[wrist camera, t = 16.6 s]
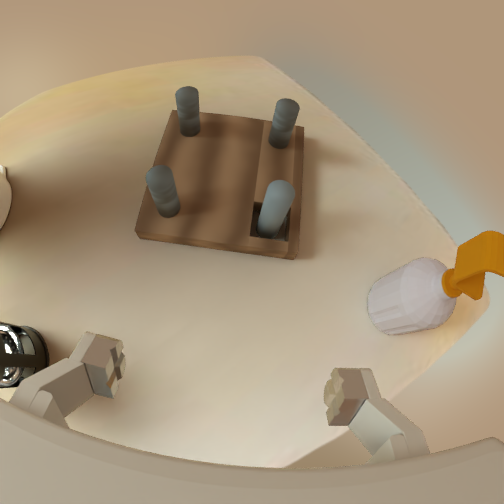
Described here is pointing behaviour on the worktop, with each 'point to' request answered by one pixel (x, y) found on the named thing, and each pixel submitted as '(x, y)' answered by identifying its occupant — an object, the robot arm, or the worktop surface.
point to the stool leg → (274, 208)
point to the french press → (19, 354)
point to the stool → (222, 178)
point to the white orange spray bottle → (433, 286)
